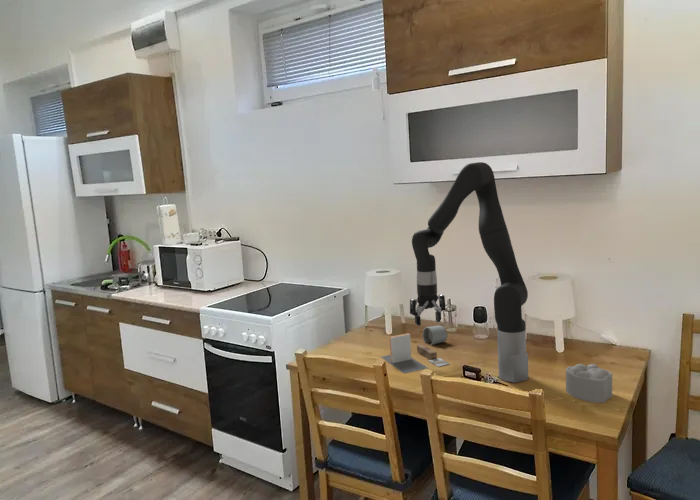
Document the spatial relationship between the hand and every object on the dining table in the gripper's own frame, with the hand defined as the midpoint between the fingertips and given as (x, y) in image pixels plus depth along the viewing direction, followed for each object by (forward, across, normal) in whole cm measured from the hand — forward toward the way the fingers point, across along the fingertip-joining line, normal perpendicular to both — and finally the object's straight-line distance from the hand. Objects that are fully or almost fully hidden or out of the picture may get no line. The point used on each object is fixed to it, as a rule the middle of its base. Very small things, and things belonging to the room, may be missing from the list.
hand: (428, 323), depth 203 cm
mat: (+14, -11, +1) cm, 18 cm away
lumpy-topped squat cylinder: (+14, +26, -52) cm, 60 cm away
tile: (+14, -11, +3) cm, 18 cm away
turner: (+14, 0, 0) cm, 14 cm away
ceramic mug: (+15, +11, +16) cm, 24 cm away
